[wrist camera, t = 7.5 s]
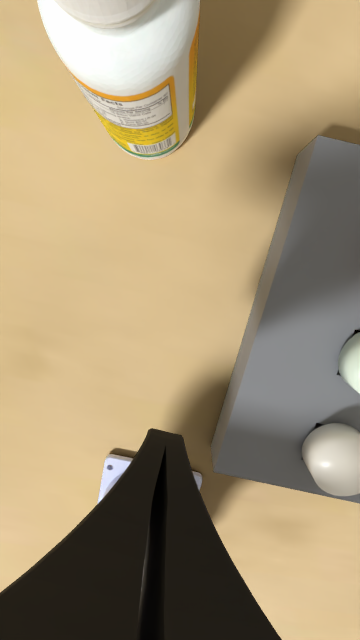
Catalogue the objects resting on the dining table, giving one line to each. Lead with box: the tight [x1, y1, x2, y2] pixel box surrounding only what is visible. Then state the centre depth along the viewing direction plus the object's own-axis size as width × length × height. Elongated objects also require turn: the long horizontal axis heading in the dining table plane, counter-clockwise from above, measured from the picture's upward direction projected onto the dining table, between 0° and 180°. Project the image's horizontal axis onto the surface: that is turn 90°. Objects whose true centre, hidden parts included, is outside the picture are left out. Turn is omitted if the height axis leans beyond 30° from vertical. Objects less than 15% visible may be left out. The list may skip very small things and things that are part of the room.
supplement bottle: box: [37, 0, 200, 160], centre depth 10 cm, size 5×5×10 cm
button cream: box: [302, 423, 360, 496], centre depth 17 cm, size 4×4×4 cm
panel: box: [211, 135, 360, 503], centre depth 16 cm, size 21×14×2 cm, turn 168°
